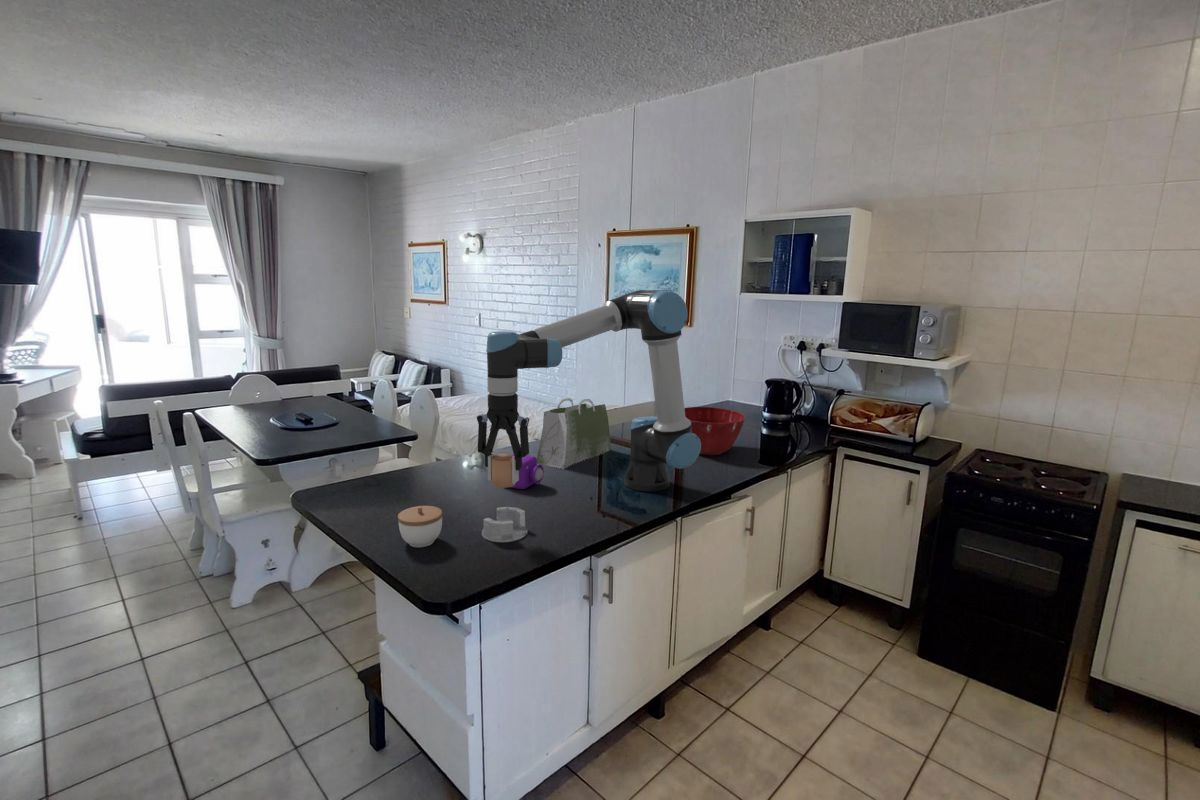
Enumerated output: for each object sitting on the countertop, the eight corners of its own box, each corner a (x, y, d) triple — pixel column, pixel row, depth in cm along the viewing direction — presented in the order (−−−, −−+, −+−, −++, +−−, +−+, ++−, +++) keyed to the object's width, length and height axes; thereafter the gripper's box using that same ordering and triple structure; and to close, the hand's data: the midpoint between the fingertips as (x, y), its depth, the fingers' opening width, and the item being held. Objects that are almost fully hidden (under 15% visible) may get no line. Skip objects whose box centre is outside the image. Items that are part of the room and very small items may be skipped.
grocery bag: (584, 444, 236) (584, 390, 232) (611, 450, 229) (613, 394, 224) (534, 463, 210) (534, 402, 206) (564, 470, 203) (564, 407, 198)
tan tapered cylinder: (518, 481, 149) (518, 453, 148) (509, 488, 144) (509, 460, 142) (497, 479, 151) (497, 451, 149) (487, 486, 145) (487, 457, 144)
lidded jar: (405, 533, 148) (403, 499, 147) (446, 532, 149) (445, 499, 147) (394, 552, 138) (392, 516, 136) (438, 551, 139) (437, 515, 137)
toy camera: (538, 492, 180) (538, 462, 178) (498, 489, 182) (497, 459, 180) (548, 481, 190) (548, 453, 188) (509, 478, 193) (509, 450, 191)
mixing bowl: (750, 461, 217) (753, 422, 214) (676, 460, 217) (678, 421, 214) (734, 442, 244) (736, 407, 241) (668, 440, 245) (670, 406, 242)
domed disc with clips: (534, 526, 154) (533, 509, 153) (517, 545, 143) (517, 526, 142) (493, 521, 157) (493, 504, 156) (473, 539, 146) (473, 521, 145)
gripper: (543, 393, 144) (542, 479, 148) (475, 388, 148) (476, 472, 153) (532, 398, 137) (532, 488, 141) (461, 393, 141) (463, 481, 146)
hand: (503, 480), depth 147 cm, fingers closed on tan tapered cylinder, 6 cm apart
